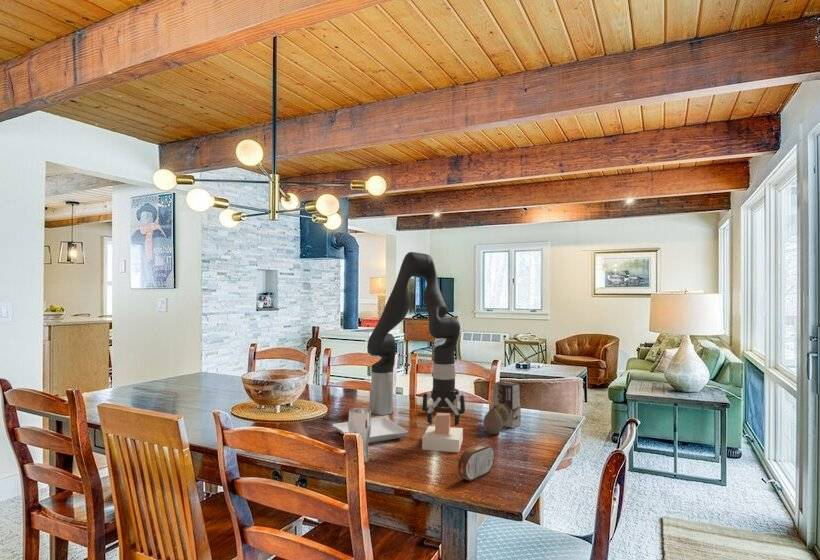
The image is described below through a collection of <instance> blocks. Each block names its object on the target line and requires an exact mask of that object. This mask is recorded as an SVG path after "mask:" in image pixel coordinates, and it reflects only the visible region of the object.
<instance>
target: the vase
mask: <svg viewBox="0 0 820 560" xmlns="http://www.w3.org/2000/svg"><path fill="white" fill-rule="evenodd" d="M482 424H483V429H484V431H485V432H486V433H487V434H489V435H498V434H499V433H500V432H501V431H502V429H503V426H502V418H501V416H500V415H499V413H498V412H497V410H496V409H495V408H493V407H491V408H489V410H488V411H487V413H486V414H485V415H484V417H483V423H482Z"/></svg>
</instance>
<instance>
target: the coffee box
mask: <svg viewBox="0 0 820 560" xmlns="http://www.w3.org/2000/svg"><path fill="white" fill-rule="evenodd" d="M521 385H522V383H518V382H517V383H516V382H510V381H503V380H500V381H496V382H494V383H492V390H493V391H492V403H493V404H492V405H493V407H492V408H495V409H496V410H497V412H498V413H499V415H500V416H501V418H502V427H507V428H511V429H513V428H517V427H520V426H521V419H522V414H521V412H522V411H521V410H522V409H521V406H522V405H521V402H522V401H521V394H522V393H521V392H522V391H521Z"/></svg>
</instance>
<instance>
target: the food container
mask: <svg viewBox="0 0 820 560" xmlns="http://www.w3.org/2000/svg"><path fill="white" fill-rule="evenodd" d="M432 392H433V388H431V391H430V394H432ZM455 394H456V395H461V394H460V391H459V389H457V388H455ZM458 402H459V401H458V399H457V398H456V399H455V401H454V403H455V405H456V407H457V408H458ZM433 403H434V401H433V400H432V404H433ZM437 413H450V415H455V413H454V411H453V410H452V409H451V408H450V407H448V408H447V407H439V406H437V405H436V407H435V408H434V409H433V414H437Z"/></svg>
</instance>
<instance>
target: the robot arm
mask: <svg viewBox="0 0 820 560" xmlns="http://www.w3.org/2000/svg"><path fill="white" fill-rule="evenodd" d="M398 271H399V272H398V274H397V277H396V281H395V283H394V286H393V289H392V290H391V293H390V295H389V297H388V299H387V302H386V304H385V306H384V309H383V311H382V312H381V313H382V314H381V315H380V318H379V319H378V322H377V324H376V325H375V327H374V329H373V330H372V332H371V334H370V335H369V338H368V341H367V352H368V354H369V355H371V356H375V357H380V359H379V360H378V361H376V362H375V363H372V365H371V370H370V371H371V372H370V373H371V375H370V376H371V378H370V379H371V381H370V390H369V405H368V406H369V408H368V409H370V410H371V414H372V415H377V416H378V415H379V416H380V415H382V416H383V415H386V416H387V415H390V414H393V411H394V410H393V408H394V407H393V403H394V401H393V400H394V399H393V397H394V367H395V361H396V349H397V348H396V347H397V346H396V343H397V342H396V340H395V338H396V337H394V335H393V334H392V333H390V332H391V331H392V330H393V329H395V328H396V327H397V326H398V325H400V323H402V322H403V321H404V319H405V318H406V316H407V315H408V312H409V310H410V309H411V305H412V302H411V301H412V300H411V296H410V293H409V292H410V291H409V286H408V285H409V283H410V280H411V278H412V277H414V278H415V277H416V278H423V279H424V281H425V282H426V286H425V288H424V291H423V293H422V294H423V295H422V299H423V300H422V301H423V303H424V306H425V310H426V312H427V315H428V316H427V317H428V331H429V334H430V336H431V337H433V338H434V339H445V340H444V343H442V344H439V345H436V346H434V349H433V368H432V389H433V392H432V394H431V392H430V393H429V392H424V393H423V395H422V396H423V397H422V411H423V412H426V413H427V423H428V424H429V425H432V424H433V411H434V408H435V407H436V405H437V406H439V407H447V408H448V407H450V408H451V409H452V410H453V411H454V413H455V414H454V427H457V426H458V425H459V423H460V415H462V414H464V413H465V411H466V405H465V404H466V403H465V395H464V394H460V395H459V394H458V395H456V394H455V389H456V366H455V358H456V357H455V353H456V352H455V351H456V348H457V343H458V340H459V336H460V334H461V325H460V322H459V320H458V319H457V318H456V317H445V316H446V315H447V314H448V306H447V304H446V302H445V300H444V297H443V294H442V292H441V289H440V285H439V280H438V274H437V269H436V266H435V261H434V259H433V257H432V256H431V255H429V254H427V253H422V252H421V253H420V252H415V251H410V252H407V253H406V255H405V256H404V257H403V260H402V262H401V265H400V269H399V270H398ZM430 398H431V399H432V404H431V406H430V407H428V400H429V399H430ZM456 398H457V399H458V401H457V402H459V403H460V404H459V405H460V409H458V406H457V407H456V405H455V403H454V401H455V399H456ZM433 401H434V403H433Z"/></svg>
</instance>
